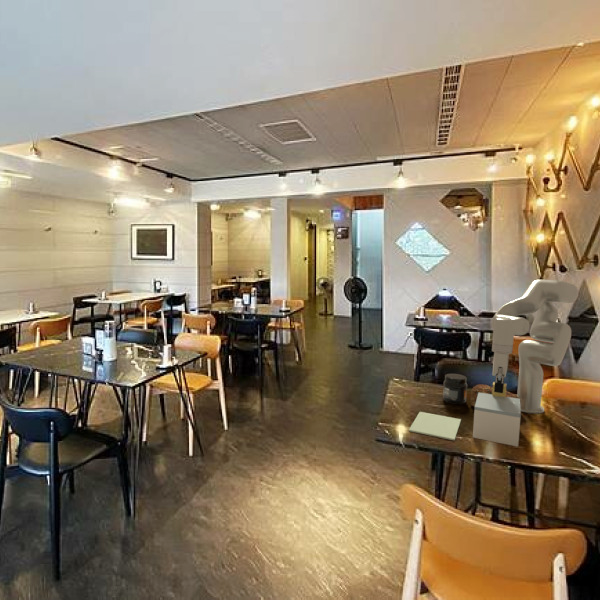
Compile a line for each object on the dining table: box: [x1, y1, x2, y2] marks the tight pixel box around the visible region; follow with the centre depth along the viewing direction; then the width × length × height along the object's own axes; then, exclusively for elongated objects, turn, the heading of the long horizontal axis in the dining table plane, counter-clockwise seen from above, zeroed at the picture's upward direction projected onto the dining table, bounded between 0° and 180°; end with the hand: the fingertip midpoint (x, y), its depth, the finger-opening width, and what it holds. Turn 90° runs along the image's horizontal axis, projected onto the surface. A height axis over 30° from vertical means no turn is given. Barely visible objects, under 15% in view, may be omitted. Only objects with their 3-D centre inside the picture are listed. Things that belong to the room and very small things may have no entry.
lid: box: [474, 381, 522, 419], centre depth 162 cm, size 21×15×7 cm
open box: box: [472, 409, 521, 447], centre depth 161 cm, size 18×15×11 cm
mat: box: [408, 411, 462, 441], centre depth 167 cm, size 21×17×1 cm
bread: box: [469, 383, 521, 408], centre depth 185 cm, size 19×11×10 cm, turn 36°
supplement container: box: [442, 373, 468, 405], centre depth 195 cm, size 10×10×12 cm
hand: (498, 389), depth 169 cm, fingers open, 9 cm apart
